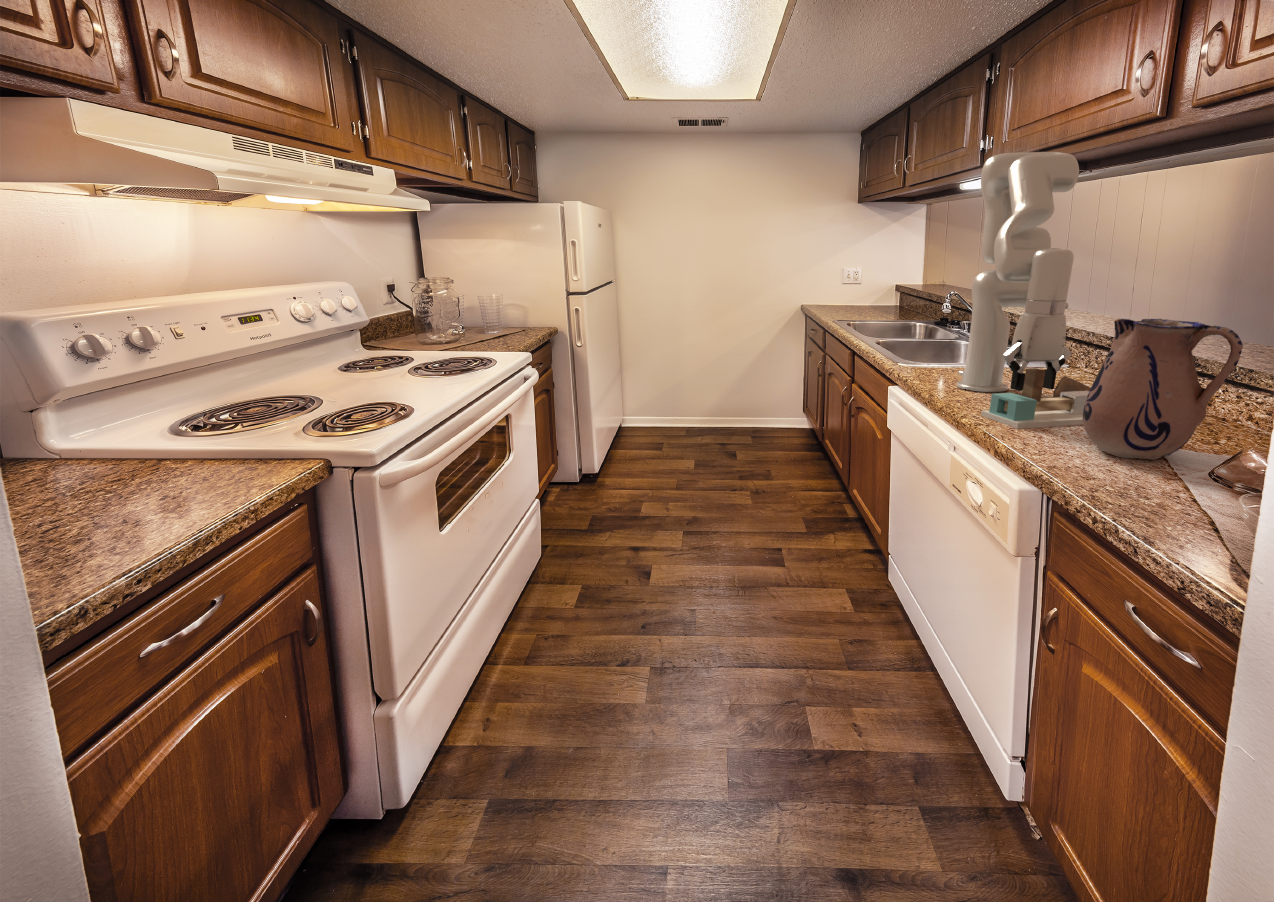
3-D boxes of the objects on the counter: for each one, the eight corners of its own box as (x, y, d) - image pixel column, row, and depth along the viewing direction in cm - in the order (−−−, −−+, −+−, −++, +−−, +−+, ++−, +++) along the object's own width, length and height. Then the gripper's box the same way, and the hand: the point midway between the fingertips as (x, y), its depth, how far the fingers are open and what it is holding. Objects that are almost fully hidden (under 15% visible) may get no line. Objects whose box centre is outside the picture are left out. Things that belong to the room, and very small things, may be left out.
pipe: (1139, 386, 170) (1107, 372, 179) (1080, 388, 167) (1051, 374, 176) (1130, 410, 173) (1099, 395, 182) (1072, 413, 170) (1043, 398, 179)
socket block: (1008, 411, 160) (1011, 392, 158) (1033, 419, 152) (1036, 400, 151) (989, 412, 159) (991, 393, 157) (1013, 420, 151) (1016, 401, 150)
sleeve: (1083, 409, 161) (1087, 390, 160) (1099, 413, 157) (1102, 394, 156) (1057, 410, 160) (1060, 392, 159) (1072, 415, 156) (1075, 396, 155)
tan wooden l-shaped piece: (1068, 406, 159) (1075, 366, 157) (1078, 409, 157) (1085, 368, 154) (1002, 410, 156) (1009, 369, 154) (1012, 413, 154) (1018, 371, 151)
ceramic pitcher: (1083, 436, 143) (1106, 314, 136) (1213, 454, 131) (1246, 321, 123) (1069, 455, 130) (1094, 322, 123) (1212, 478, 118) (1249, 330, 110)
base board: (1077, 410, 166) (1078, 405, 165) (1119, 422, 154) (1120, 417, 154) (980, 415, 161) (981, 410, 161) (1017, 428, 150) (1018, 423, 149)
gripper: (1066, 306, 155) (1053, 384, 160) (997, 308, 151) (986, 387, 156) (1093, 309, 147) (1078, 390, 153) (1021, 311, 144) (1009, 394, 149)
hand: (1031, 388), depth 154 cm, fingers open, 7 cm apart
